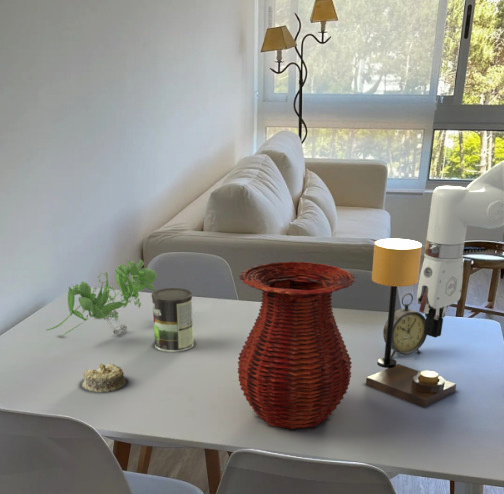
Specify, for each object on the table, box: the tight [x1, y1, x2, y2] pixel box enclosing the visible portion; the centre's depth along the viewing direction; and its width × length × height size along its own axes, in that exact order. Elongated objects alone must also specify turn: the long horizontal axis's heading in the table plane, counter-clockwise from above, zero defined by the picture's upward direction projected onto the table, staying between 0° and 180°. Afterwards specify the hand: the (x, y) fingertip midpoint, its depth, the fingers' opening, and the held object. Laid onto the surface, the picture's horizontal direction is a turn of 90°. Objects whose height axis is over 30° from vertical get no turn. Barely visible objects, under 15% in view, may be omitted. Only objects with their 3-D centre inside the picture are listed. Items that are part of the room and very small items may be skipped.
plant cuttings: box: [45, 259, 158, 337], centre depth 191 cm, size 35×17×22 cm
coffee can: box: [151, 287, 194, 353], centre depth 182 cm, size 10×10×14 cm
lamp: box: [371, 238, 423, 369], centre depth 157 cm, size 10×10×28 cm
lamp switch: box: [419, 370, 440, 384], centre depth 156 cm, size 4×4×2 cm
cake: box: [81, 363, 127, 393], centre depth 161 cm, size 10×10×5 cm
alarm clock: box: [382, 292, 428, 359], centre depth 176 cm, size 11×5×16 cm, turn 114°
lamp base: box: [365, 363, 457, 409], centre depth 160 cm, size 16×12×4 cm
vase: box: [237, 261, 356, 430], centre depth 142 cm, size 23×24×30 cm
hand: (432, 334), depth 151 cm, fingers closed
